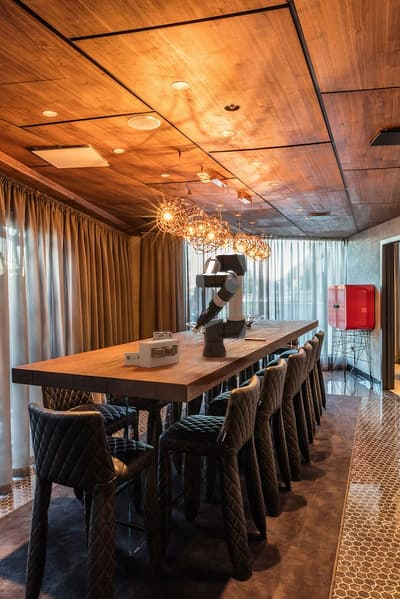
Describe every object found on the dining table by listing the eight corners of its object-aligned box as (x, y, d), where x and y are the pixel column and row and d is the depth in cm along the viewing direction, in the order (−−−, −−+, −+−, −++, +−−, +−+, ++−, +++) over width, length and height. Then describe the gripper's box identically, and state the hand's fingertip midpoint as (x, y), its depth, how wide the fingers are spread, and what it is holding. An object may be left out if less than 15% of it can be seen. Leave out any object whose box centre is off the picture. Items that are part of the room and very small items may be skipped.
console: (169, 360, 272) (169, 338, 271) (179, 362, 267) (179, 339, 266) (139, 366, 253) (139, 342, 253) (149, 367, 248) (149, 343, 248)
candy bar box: (172, 358, 280) (172, 331, 280) (170, 360, 275) (170, 332, 275) (155, 358, 283) (155, 331, 282) (152, 359, 278) (152, 332, 278)
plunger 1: (153, 355, 255) (153, 347, 255) (164, 357, 249) (164, 349, 249) (147, 356, 251) (147, 348, 251) (159, 358, 246) (159, 350, 246)
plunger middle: (163, 354, 261) (163, 346, 261) (174, 355, 255) (174, 347, 255) (157, 355, 258) (157, 347, 258) (169, 356, 252) (169, 348, 252)
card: (143, 364, 259) (143, 352, 259) (143, 364, 257) (143, 352, 257) (125, 365, 257) (124, 352, 257) (125, 365, 256) (124, 352, 256)
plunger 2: (165, 351, 271) (165, 344, 271) (176, 353, 265) (176, 345, 265) (160, 352, 268) (159, 345, 267) (171, 354, 262) (171, 346, 262)
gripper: (214, 308, 236) (190, 338, 247) (229, 307, 246) (205, 336, 257) (206, 297, 239) (182, 328, 250) (221, 297, 249) (197, 326, 261)
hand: (194, 332), depth 254 cm, fingers closed
